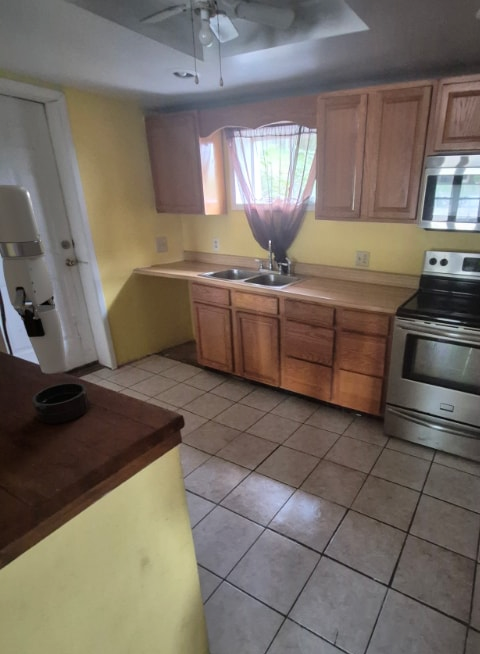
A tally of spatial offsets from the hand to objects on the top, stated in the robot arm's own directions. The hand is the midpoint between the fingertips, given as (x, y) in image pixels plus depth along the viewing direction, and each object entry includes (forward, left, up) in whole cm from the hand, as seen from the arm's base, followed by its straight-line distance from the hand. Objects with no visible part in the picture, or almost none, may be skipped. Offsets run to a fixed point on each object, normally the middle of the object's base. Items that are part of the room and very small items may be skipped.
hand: (44, 329), depth 84 cm
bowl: (-1, +1, -23) cm, 23 cm away
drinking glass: (0, 0, -10) cm, 10 cm away
